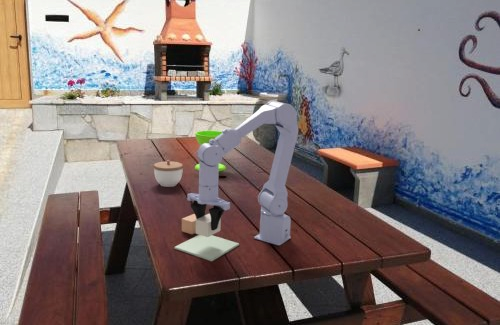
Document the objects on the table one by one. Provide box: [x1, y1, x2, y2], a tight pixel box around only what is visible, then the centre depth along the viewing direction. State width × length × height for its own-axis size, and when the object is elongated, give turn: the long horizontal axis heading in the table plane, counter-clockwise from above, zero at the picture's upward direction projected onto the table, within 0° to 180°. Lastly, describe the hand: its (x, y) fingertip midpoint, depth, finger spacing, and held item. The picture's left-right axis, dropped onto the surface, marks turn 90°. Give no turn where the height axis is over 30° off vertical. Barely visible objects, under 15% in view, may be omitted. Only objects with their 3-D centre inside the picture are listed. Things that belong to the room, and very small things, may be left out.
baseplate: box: [174, 234, 240, 262], centre depth 138 cm, size 14×14×1 cm
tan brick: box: [181, 213, 196, 235], centre depth 150 cm, size 4×6×4 cm
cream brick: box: [195, 213, 222, 237], centre depth 136 cm, size 4×6×4 cm
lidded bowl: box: [153, 159, 184, 188], centre depth 199 cm, size 13×13×11 cm
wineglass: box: [194, 130, 227, 172], centre depth 230 cm, size 16×16×18 cm
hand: (207, 227), depth 136 cm, fingers closed on cream brick, 4 cm apart
